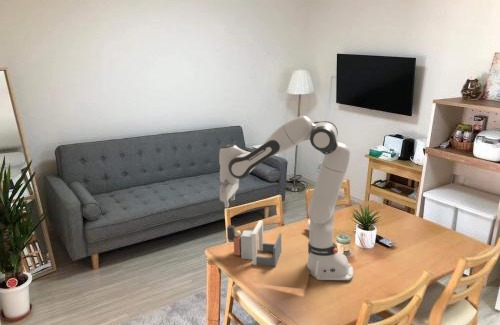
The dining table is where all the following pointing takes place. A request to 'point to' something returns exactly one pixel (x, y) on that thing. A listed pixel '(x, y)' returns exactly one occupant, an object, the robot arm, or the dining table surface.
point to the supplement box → (246, 245)
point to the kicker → (234, 238)
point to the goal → (264, 247)
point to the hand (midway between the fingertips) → (229, 203)
